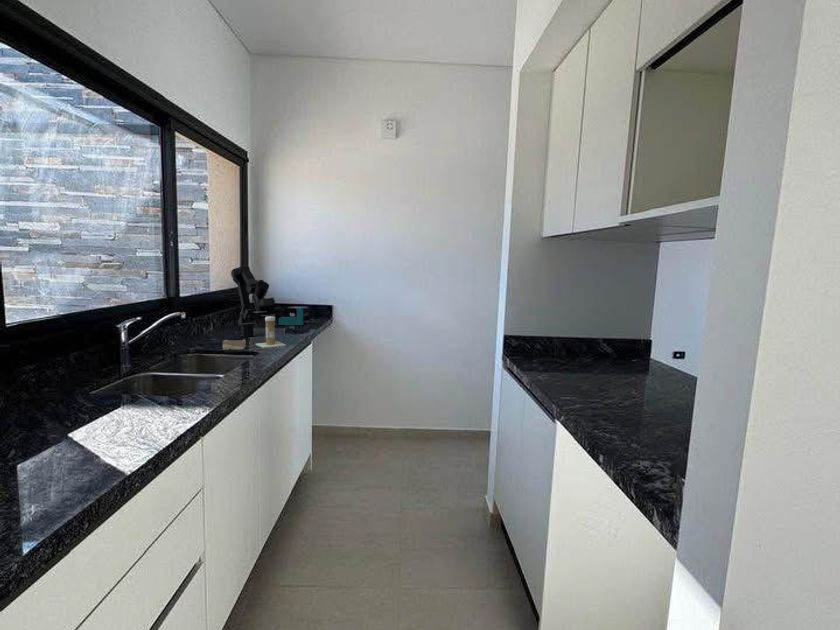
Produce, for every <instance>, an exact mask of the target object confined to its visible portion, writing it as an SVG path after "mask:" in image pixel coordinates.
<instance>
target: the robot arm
mask: <svg viewBox="0 0 840 630" xmlns="http://www.w3.org/2000/svg"><path fill="white" fill-rule="evenodd" d="M230 276H231V278H232V280H233V282H234V283H235V284H236V285H237V290H238V295H239V299H240V300H239V301H240V305H241V311H240V313H239V317H238V320H237V323H238V326H240V327H241V329H242V330H241V332H242V334H240V335H239V336H240V337H242V336H243V337H242V338H250V336H251V337H256V336H257V335H256V334H254V332H255V331H254V326H255V327H256V328H257V329H261V327H260V323H259V321H258V318H259V317H260V316H261V317H264V316H265V317H268V316H273V317H275V324H276V326H275V327H277V328H278V327H279V326H278V322H279V319H280V318H281V317H283V314H284V312H285V311H284V308H283V307H274V309H273V310H271V306H273V305H275V304H276V300H275V298H274V297H269V298H265V297H266V296H267V293H268V291H269V289H270V285H269V283H268V282H266V281H264V279H259V280H258V279H256V278H255V277H254V274H253V273H252V271H251V269H250V266H247V265H246V266H245V265H244V266H241V265H240V266H238V267H235V268H233V269H232V270H231V271H230ZM249 295H251V299H250V296H249ZM251 302H253V305H254V306H252V303H251Z"/></svg>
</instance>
